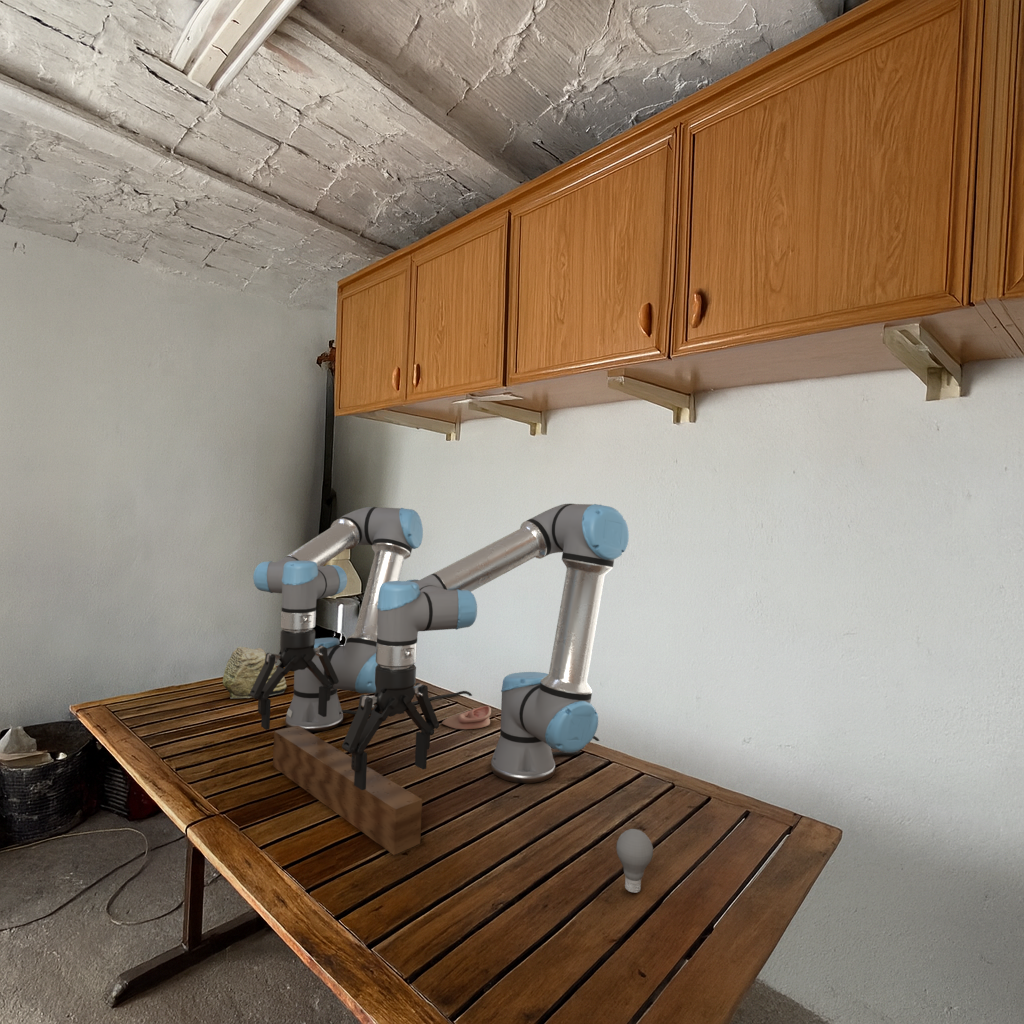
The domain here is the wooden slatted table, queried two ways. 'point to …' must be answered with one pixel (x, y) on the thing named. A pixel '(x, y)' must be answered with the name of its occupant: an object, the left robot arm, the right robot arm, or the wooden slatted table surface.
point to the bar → (349, 789)
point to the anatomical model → (470, 719)
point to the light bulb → (634, 857)
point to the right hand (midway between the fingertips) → (391, 776)
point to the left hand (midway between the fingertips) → (294, 721)
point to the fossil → (247, 672)
